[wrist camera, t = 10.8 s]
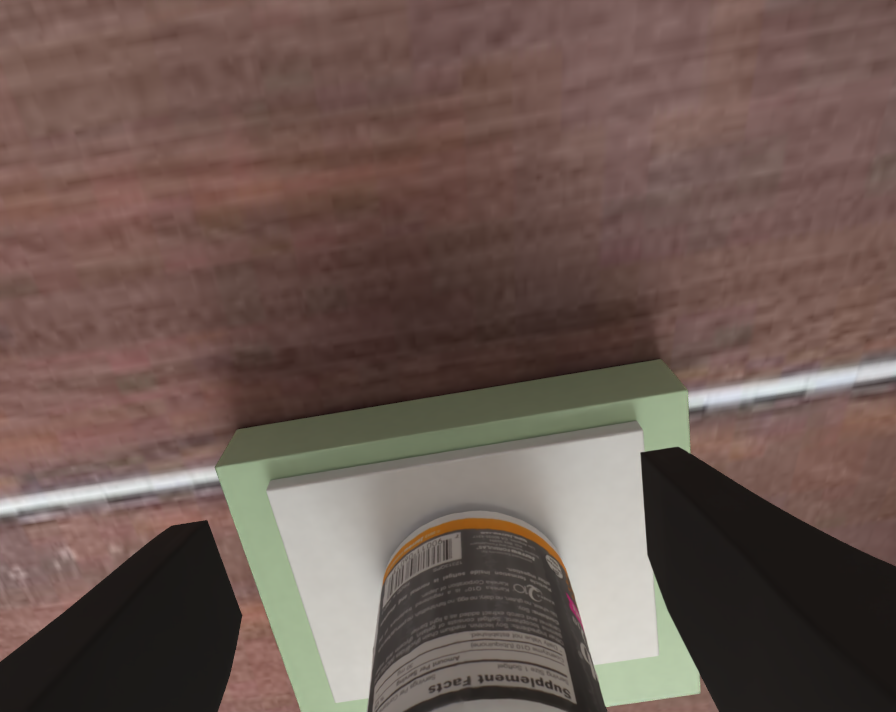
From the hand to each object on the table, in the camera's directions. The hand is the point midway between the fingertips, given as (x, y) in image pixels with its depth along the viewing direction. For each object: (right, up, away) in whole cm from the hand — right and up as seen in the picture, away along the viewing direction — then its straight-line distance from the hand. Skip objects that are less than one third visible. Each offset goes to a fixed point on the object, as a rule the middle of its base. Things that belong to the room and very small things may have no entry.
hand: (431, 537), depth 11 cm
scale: (+1, -4, +13) cm, 13 cm away
